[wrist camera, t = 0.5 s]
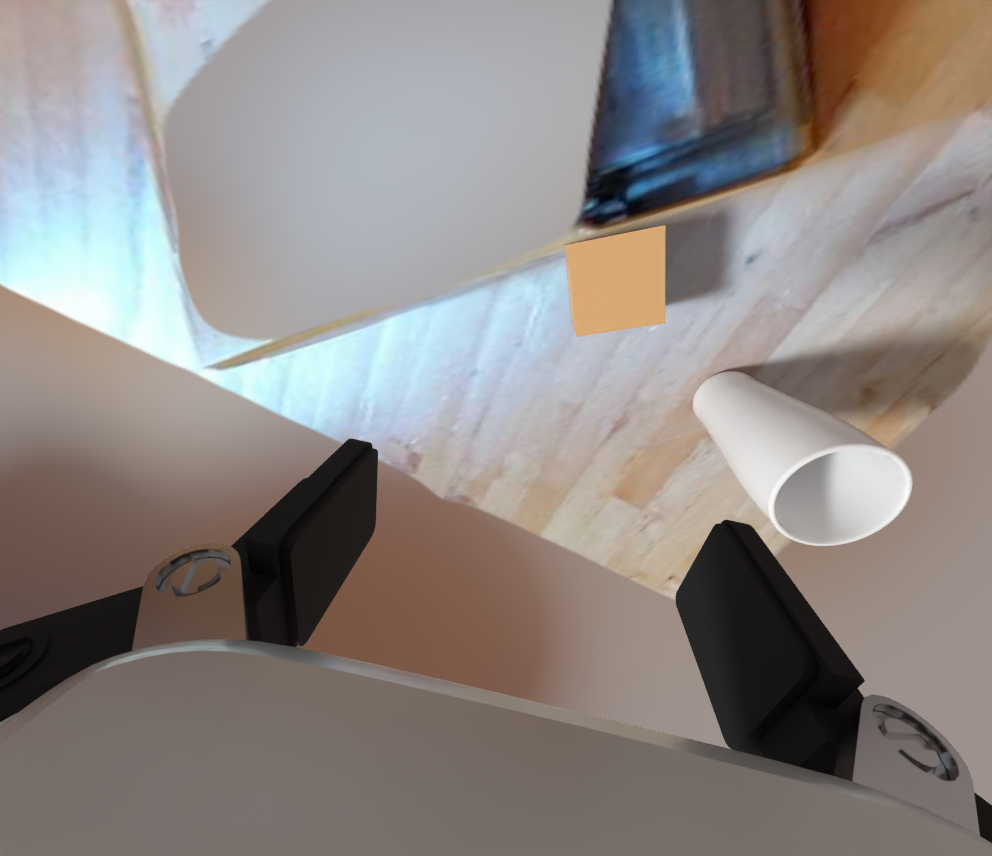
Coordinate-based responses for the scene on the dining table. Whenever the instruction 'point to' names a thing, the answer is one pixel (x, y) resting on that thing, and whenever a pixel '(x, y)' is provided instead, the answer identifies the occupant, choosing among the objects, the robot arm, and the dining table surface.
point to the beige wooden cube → (617, 281)
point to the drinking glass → (802, 462)
